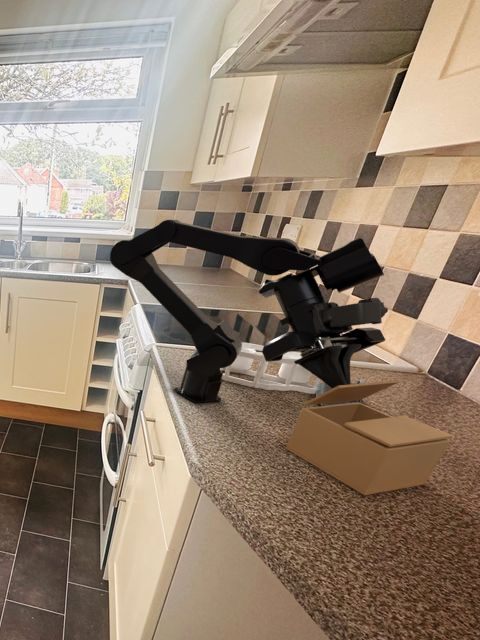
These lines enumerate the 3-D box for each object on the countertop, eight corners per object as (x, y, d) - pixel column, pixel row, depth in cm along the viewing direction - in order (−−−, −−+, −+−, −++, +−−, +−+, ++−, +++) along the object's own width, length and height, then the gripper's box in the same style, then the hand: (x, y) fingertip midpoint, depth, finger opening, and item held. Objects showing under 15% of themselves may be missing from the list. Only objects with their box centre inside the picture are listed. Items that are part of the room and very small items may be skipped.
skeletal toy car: (314, 385, 93) (327, 355, 90) (316, 402, 85) (330, 369, 82) (215, 363, 104) (223, 335, 101) (207, 376, 96) (217, 346, 93)
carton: (285, 448, 68) (304, 403, 65) (339, 441, 71) (360, 397, 68) (364, 495, 58) (391, 444, 54) (424, 484, 61) (454, 435, 57)
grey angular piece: (316, 389, 92) (315, 361, 84) (359, 390, 88) (363, 361, 80) (314, 429, 89) (313, 403, 81) (360, 432, 84) (364, 405, 76)
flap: (304, 405, 65) (303, 403, 65) (361, 399, 68) (359, 397, 68) (340, 387, 60) (338, 385, 60) (399, 382, 63) (397, 380, 63)
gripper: (307, 278, 60) (357, 379, 55) (398, 277, 65) (452, 370, 60) (244, 317, 70) (281, 404, 65) (327, 314, 75) (367, 395, 70)
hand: (345, 393), depth 65 cm, fingers closed
